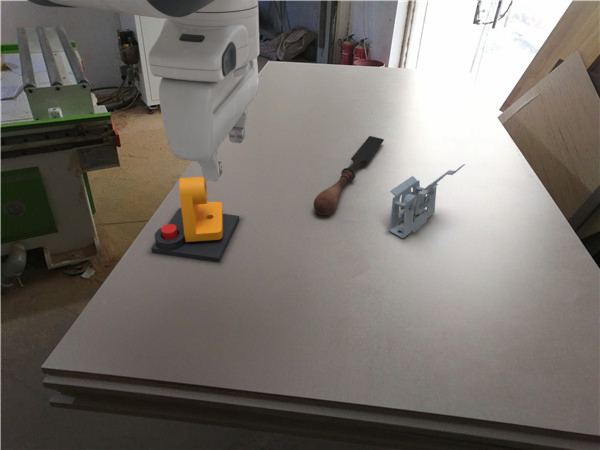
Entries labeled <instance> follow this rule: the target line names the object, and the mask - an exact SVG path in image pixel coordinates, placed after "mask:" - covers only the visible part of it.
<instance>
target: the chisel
mask: <svg viewBox="0 0 600 450" xmlns="http://www.w3.org/2000/svg"><path fill="white" fill-rule="evenodd" d="M384 141H385V139H384V138H381V137H377V136H373V135H369V136H368V137H367V138H366V139H365V141H364V142H363V143H362V144H361V146H360V147H359V148H358V149H357V151H356V152H355V153H354V154H353V155H352V156H351V158H350V160H351V161H352V164H350V165H349V166H348V167H344V168H343V169H342V170H341V173H340V174H341V175H340V177H339V180H338V181H337V182H335V183H334V184H333V185H331V186H330V187H328V188H326V189H323V190H322V191H321V192H320V193H318V194H317V196H315V198H314V200H313V209H314V211H315V212H316V214H317V215H321V216H328V215H330V214H332V213H333V212H334V211H335V209H336V207H337V206H338V203H339V200H340V196H341V192H342V189H343V188H344V186H345V185H346V184H347V183H348V182H352V181H353V180H354V179H355V177H356V174H355V173H356V171H357V169H358V168H359V167H360V166H361V165H367V164H368V163H369V162H370V160H371V159H372V158H373V156H374V155H375V153H376V152H377V151H378V149H379V148H380V146H382V144H383V142H384Z"/></svg>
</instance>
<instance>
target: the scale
mask: <svg viewBox="0 0 600 450" xmlns="http://www.w3.org/2000/svg"><path fill="white" fill-rule="evenodd" d="M239 222H240V215H236V214H228V213H223V237H222V238H221V239H219V240H207V241H192V242H186V240H185V235H184V226H183V218H182V209H181V207H178V209H177V210H176V212H175V214H173V216H172V218H171V219H170V220H169V222H168V223H167V224H174V225H175V226H176V227H177V232H178V236H177V237H176V238H174V239H170V240H167V239H164V238H163V236H162V232H161V228H162V227H160V228H158V229H157V230H156V231H155V233H154V241H155V242H154V244H152V246H151V248H150V249H151V253H153V254H159V255H167V256H175V257H181V258H186V259H187V258H188V259H194V260H202V261H208V262H215V263H220V261H221V260H222V257H223V255H224V253H225V251H226V249H227V247H228V245H229V242H230V241H231V238H232V236H233V234H234V232H235V230H236V228H237V226H238V224H239Z"/></svg>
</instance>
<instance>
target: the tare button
mask: <svg viewBox="0 0 600 450" xmlns="http://www.w3.org/2000/svg"><path fill="white" fill-rule="evenodd" d="M160 228H161V232H162V236H163V238H164V239H167V240H170V239H174V238H176V237H177V236H178V232H177V227H176V226H175V225H174V224H168V223H167V224H164V225H162V226H161V227H160Z"/></svg>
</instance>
